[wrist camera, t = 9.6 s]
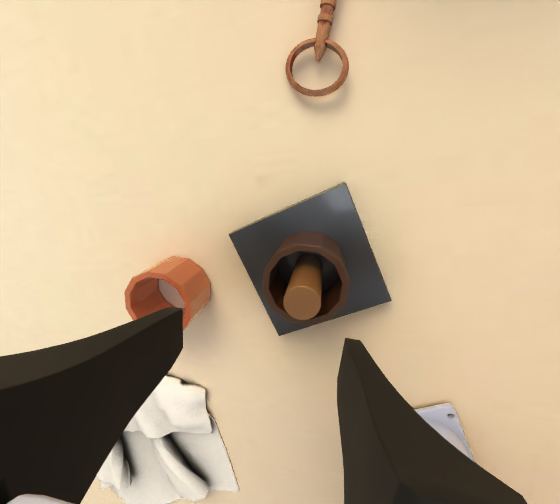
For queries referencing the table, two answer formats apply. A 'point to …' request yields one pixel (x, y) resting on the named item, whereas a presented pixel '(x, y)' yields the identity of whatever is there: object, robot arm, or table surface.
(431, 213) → the table surface
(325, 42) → the key
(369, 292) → the peg stand
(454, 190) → the table surface
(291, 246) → the walnut ring
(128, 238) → the table surface
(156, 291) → the terracotta ring
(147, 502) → the cloth
